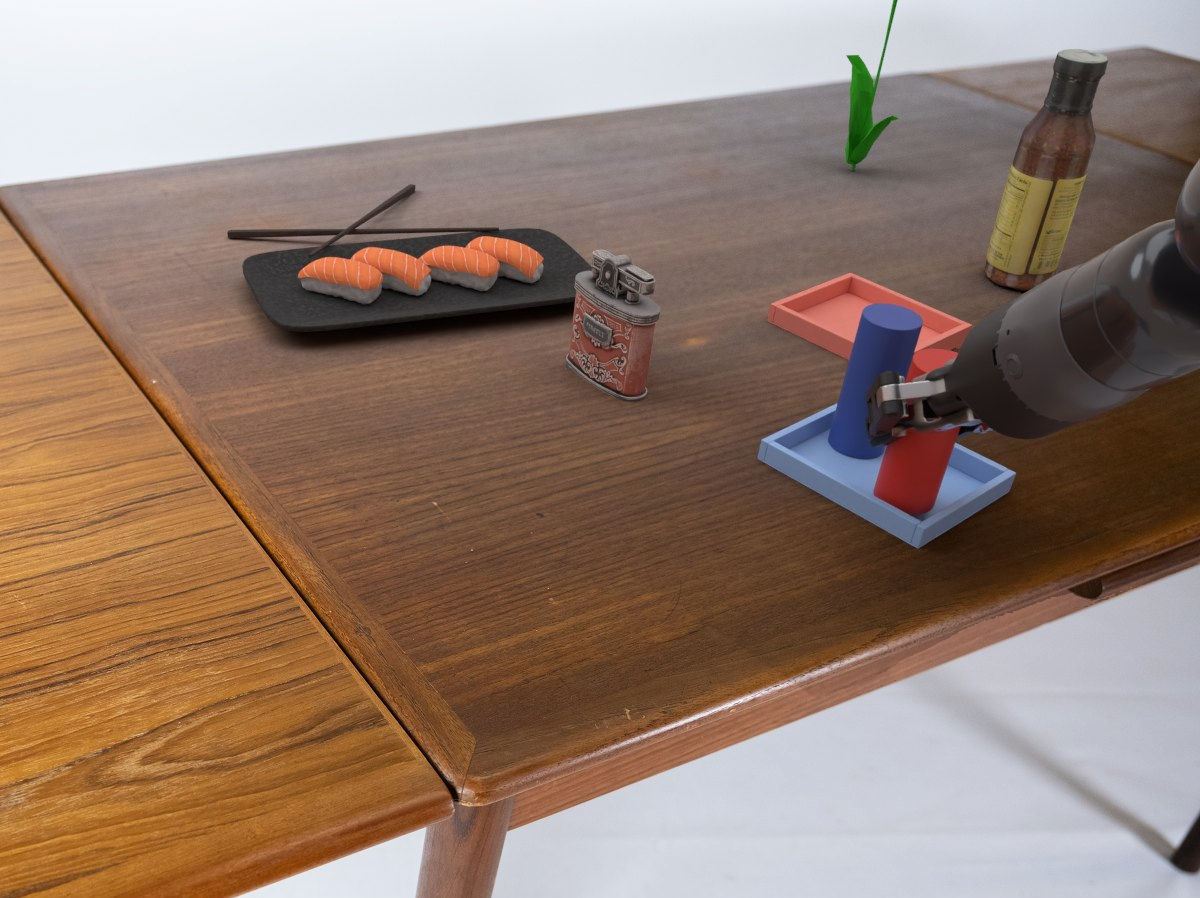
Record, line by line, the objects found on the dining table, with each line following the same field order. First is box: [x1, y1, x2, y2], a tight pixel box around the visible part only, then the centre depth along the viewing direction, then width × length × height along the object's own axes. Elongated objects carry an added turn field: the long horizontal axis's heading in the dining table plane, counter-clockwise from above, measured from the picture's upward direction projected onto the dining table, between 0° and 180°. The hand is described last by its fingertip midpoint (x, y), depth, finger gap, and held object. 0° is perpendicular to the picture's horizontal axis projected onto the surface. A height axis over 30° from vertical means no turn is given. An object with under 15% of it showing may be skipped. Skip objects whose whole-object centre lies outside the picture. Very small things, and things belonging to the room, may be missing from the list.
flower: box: [844, 0, 899, 172], centre depth 130 cm, size 9×8×30 cm
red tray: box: [766, 272, 973, 369], centre depth 106 cm, size 12×11×2 cm
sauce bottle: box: [983, 48, 1109, 292], centre depth 112 cm, size 6×6×20 cm
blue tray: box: [757, 403, 1017, 549], centre depth 88 cm, size 13×11×2 cm
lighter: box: [564, 249, 661, 403], centre depth 94 cm, size 8×3×10 cm, turn 35°
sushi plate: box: [226, 183, 592, 333], centre depth 112 cm, size 29×30×4 cm
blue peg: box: [828, 303, 923, 459], centre depth 88 cm, size 4×4×10 cm
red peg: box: [873, 349, 961, 515], centre depth 82 cm, size 4×4×10 cm
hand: (906, 430), depth 84 cm, fingers closed on red peg, 4 cm apart
